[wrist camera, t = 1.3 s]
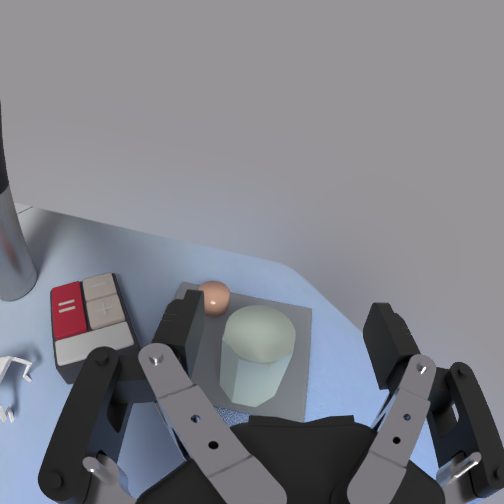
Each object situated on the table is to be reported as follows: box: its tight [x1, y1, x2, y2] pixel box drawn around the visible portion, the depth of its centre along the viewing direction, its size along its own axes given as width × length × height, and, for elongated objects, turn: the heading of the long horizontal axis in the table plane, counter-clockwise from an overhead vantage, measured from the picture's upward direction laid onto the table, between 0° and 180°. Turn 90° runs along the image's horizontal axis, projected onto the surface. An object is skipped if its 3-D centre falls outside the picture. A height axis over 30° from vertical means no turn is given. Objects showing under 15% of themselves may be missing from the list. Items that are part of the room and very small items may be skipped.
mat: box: [151, 282, 312, 422], centre depth 36 cm, size 20×18×1 cm
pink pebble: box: [198, 281, 230, 317], centre depth 39 cm, size 4×4×3 cm
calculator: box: [50, 273, 141, 384], centre depth 33 cm, size 11×4×15 cm
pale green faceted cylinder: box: [219, 305, 296, 407], centre depth 28 cm, size 6×6×10 cm
